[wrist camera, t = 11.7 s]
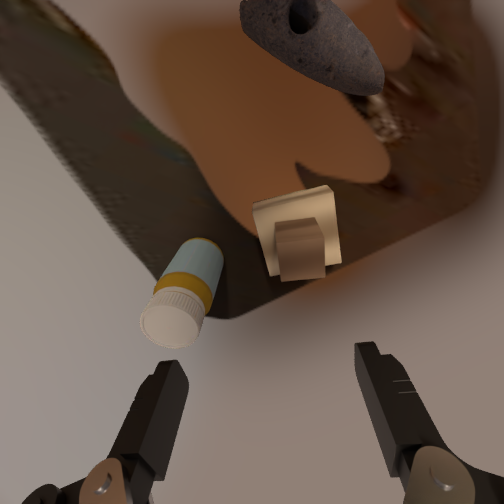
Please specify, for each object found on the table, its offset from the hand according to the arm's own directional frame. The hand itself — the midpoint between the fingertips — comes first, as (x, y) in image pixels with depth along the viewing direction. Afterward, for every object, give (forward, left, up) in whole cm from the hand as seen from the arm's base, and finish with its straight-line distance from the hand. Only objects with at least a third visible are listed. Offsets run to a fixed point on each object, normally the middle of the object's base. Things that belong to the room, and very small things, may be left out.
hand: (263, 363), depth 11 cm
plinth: (+5, +4, -26) cm, 27 cm away
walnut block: (+5, +3, -22) cm, 23 cm away
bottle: (+7, -11, -26) cm, 29 cm away
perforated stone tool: (-14, +8, -26) cm, 31 cm away
